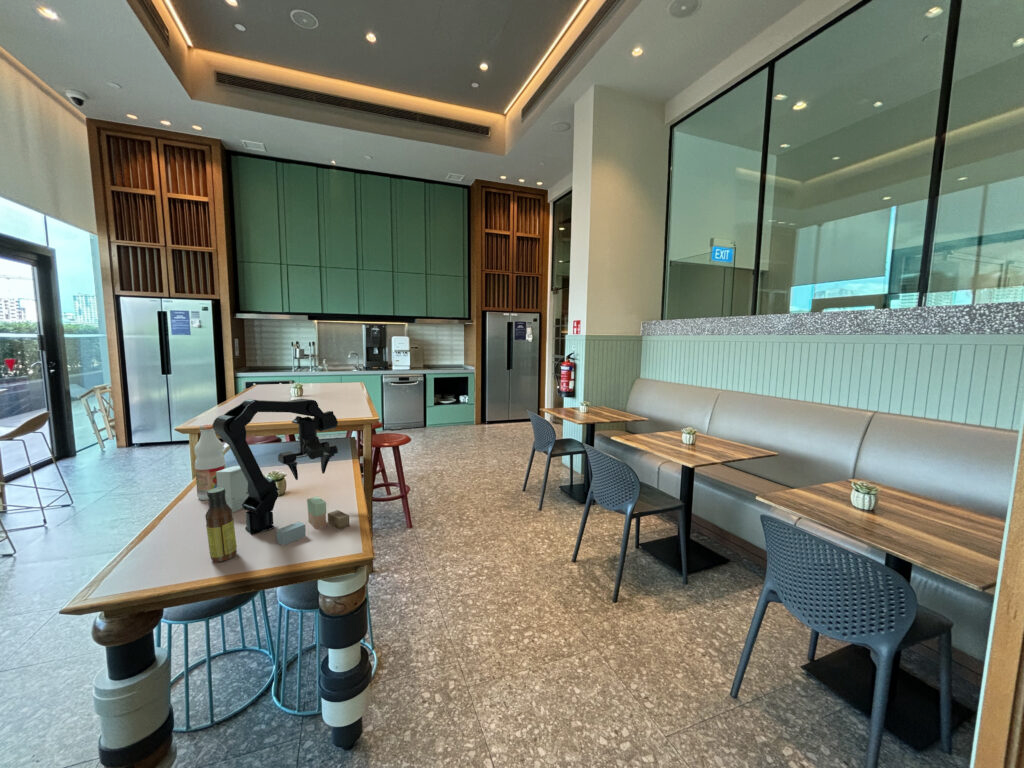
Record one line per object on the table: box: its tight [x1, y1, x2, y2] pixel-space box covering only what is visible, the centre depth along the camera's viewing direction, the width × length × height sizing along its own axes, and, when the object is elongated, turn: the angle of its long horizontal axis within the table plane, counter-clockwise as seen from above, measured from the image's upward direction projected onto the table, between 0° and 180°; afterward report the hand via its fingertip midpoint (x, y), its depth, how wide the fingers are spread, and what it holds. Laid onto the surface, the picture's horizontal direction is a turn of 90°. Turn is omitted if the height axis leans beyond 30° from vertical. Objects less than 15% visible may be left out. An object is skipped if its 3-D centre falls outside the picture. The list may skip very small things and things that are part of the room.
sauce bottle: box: [204, 487, 238, 563], centre depth 114 cm, size 7×6×20 cm
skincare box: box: [216, 465, 249, 514], centre depth 148 cm, size 8×6×15 cm
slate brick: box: [275, 521, 307, 546], centre depth 125 cm, size 7×4×4 cm, turn 145°
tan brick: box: [307, 510, 327, 529], centre depth 136 cm, size 7×4×4 cm, turn 42°
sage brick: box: [306, 496, 327, 517], centre depth 136 cm, size 7×4×4 cm, turn 45°
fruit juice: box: [193, 424, 226, 501], centre depth 158 cm, size 9×9×28 cm
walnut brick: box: [327, 509, 351, 531], centre depth 135 cm, size 7×4×4 cm, turn 53°
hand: (310, 476), depth 147 cm, fingers open, 9 cm apart
